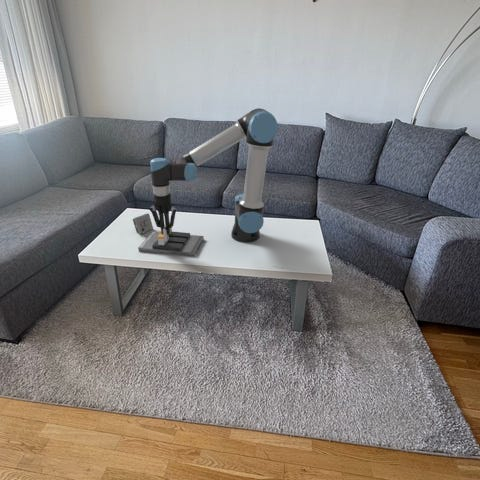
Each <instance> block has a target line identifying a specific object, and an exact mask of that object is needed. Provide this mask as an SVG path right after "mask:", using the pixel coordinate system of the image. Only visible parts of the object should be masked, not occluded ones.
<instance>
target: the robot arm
mask: <svg viewBox="0 0 480 480" xmlns="http://www.w3.org/2000/svg"><path fill="white" fill-rule="evenodd" d="M278 128H279V125H278V122H277V119H276V117H275V116H274V115H273V114H272V113H271V112H269V111H268V110H266V109H264V108H254V109H252V110H250V111H249V112H247V113H246V114H245V115H243V116H242V117H240V118H239V119H237V120H236V122H235V124H233V125H232V126H230V127H228V128H226V129H225V130H223V131H221V132H220V133H218V134H217V135H214V136H213V137H211V138H210V139H208V140H207V141H204V142H202V144H200V145H198V146H197V147H196V148H193V149H191V150H190V151H189V152H187V153H185V154H180V155H179V156H178V157H177V159H176V161H175V162H176V163H173V162H172V163H170V162H169V160H168V159H167V158H165V157H155V158H152V159H150V162H149V164H150V177H151V184H152V185H151V186H152V194H153V202H154V203H153V205H152V206H150V207H149V211H150V213H151V214H152V217H153V221H154V222H155V226H156V227H157V228H159V229H160V230H161V233H162V234H163V236H164V241H166V242H167V241H168V240H169V234H170V228H172V229H173V227H174V224H175V218H176V214H177V211H178V207H174V206H173V203H172V197H171V196H172V194H171V185H170V182H180V181H181V182H184V181H185V182H192V181H196V180H197V167H199V166H201V165H202V164H204V163H206V162H207V161H209V160H210V159H212V158H214V157H216V156H217V155H219V154H220V153H222V152H224V151H226V150H228V149H229V148H231V147H232V146H234V145H236V144H237V143H240V142H241V141H242V140H245V143H246V145H247V147H248V152H247V161H246V162H247V163H246V171H245V179H244V180H245V181H244V188H243V193H239V194H237V195H236V196H235V197H234V224H233V226H232V229H231V238H232V239H233V240H234V241H236V242H240V243H250V242H251V243H253V242H255V241H257V240H259V238H260V235H261V233H260V230H261V229H262V228H263V226H264V221H265V220H264V217H263V214H264V207H265V204H264V203H263V201H262V197H263V193H264V192H263V190H264V184H265V178H266V172H267V171H266V170H267V163H268V157H269V150H270V149H271V148H272V147H273V146H274V140H275V137H276V136H277V134H278ZM170 211H171V213H170ZM169 214H171V215H169ZM164 226H166V227H164Z"/></svg>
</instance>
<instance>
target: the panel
mask: <svg viewBox="0 0 480 480" xmlns="http://www.w3.org/2000/svg"><path fill="white" fill-rule="evenodd" d="M159 234H160V233H159V231H152V232H151V233H149V235H148V236H147V237H146V238H145V240H143V242H142V243H141V244H139V247H137V248H138V252H140V253H141V252H142V253H151V254H152V253H154V254H162V255H163V254H165V255H174V256H187V257H193V258H194V257H196V255H197V253H198V251H199V249H200V247H201V245H202V244H203V242H204V241H205V240H204V239H205V238H204V235H196V234H191V233H190V232H182V231H172V232H171V234H169V240H168V241H167V242H166V244H165V245H158V238H157V237H158V235H159Z"/></svg>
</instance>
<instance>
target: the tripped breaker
mask: <svg viewBox="0 0 480 480" xmlns="http://www.w3.org/2000/svg"><path fill="white" fill-rule="evenodd" d="M157 238H158V245H165V244H166V241H164V236H163V234H159V235H158V237H157Z"/></svg>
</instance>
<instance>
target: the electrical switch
mask: <svg viewBox="0 0 480 480" xmlns="http://www.w3.org/2000/svg"><path fill="white" fill-rule="evenodd" d="M132 222H133V225H134V228H135V231H136V233H138V235H142V234H144V233H148V232H149V231H152V230H153V229H154V226H153V223H152V222H153V221H152V218H151V216H150V213H144V214H142V215H138V216H136V217H134V218H133V219H132Z"/></svg>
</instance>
